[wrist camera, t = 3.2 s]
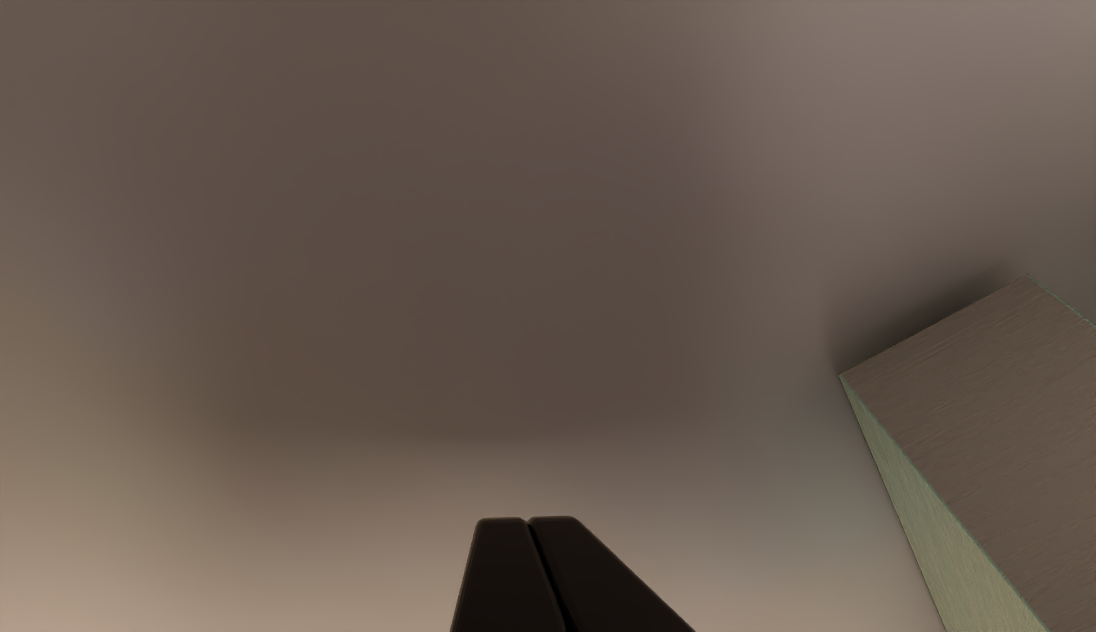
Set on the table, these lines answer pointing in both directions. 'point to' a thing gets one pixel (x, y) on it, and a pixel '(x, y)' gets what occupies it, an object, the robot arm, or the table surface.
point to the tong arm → (993, 458)
